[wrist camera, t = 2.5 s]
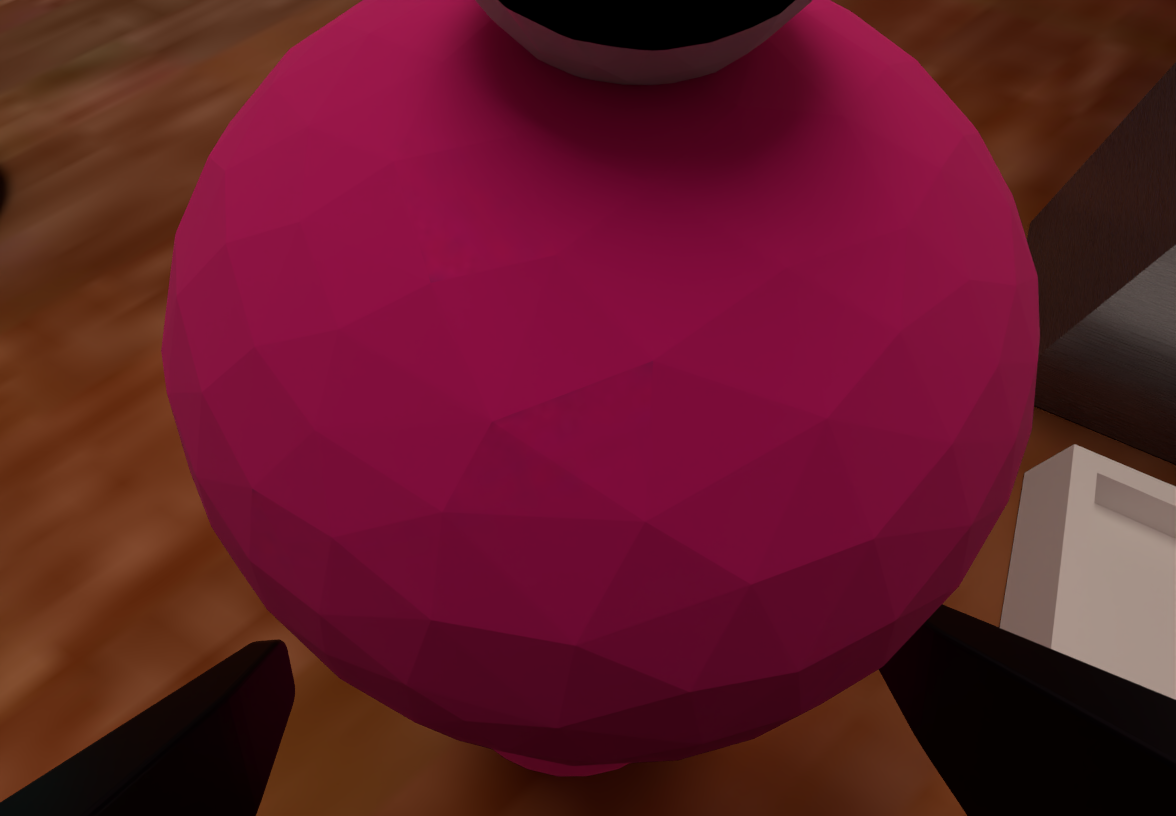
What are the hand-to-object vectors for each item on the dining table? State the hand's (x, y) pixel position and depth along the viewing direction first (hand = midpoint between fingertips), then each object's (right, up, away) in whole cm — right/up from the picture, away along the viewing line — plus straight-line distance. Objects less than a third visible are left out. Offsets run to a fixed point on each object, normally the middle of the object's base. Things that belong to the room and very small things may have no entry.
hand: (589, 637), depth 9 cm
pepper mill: (-1, -4, +10) cm, 11 cm away
